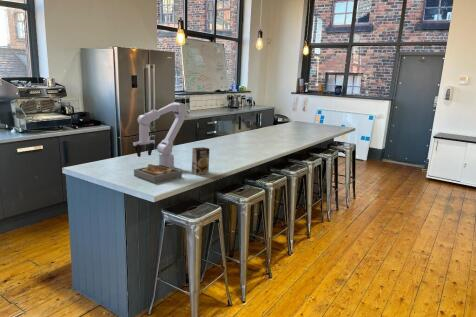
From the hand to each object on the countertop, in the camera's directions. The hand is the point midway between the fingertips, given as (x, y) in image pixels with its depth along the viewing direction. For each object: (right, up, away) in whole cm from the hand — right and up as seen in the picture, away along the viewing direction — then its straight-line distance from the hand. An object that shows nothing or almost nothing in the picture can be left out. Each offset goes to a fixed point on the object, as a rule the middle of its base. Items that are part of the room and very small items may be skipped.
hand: (144, 155), depth 227 cm
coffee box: (+35, -11, +2) cm, 37 cm away
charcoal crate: (+11, -13, -10) cm, 20 cm away
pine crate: (+10, -12, -10) cm, 19 cm away
